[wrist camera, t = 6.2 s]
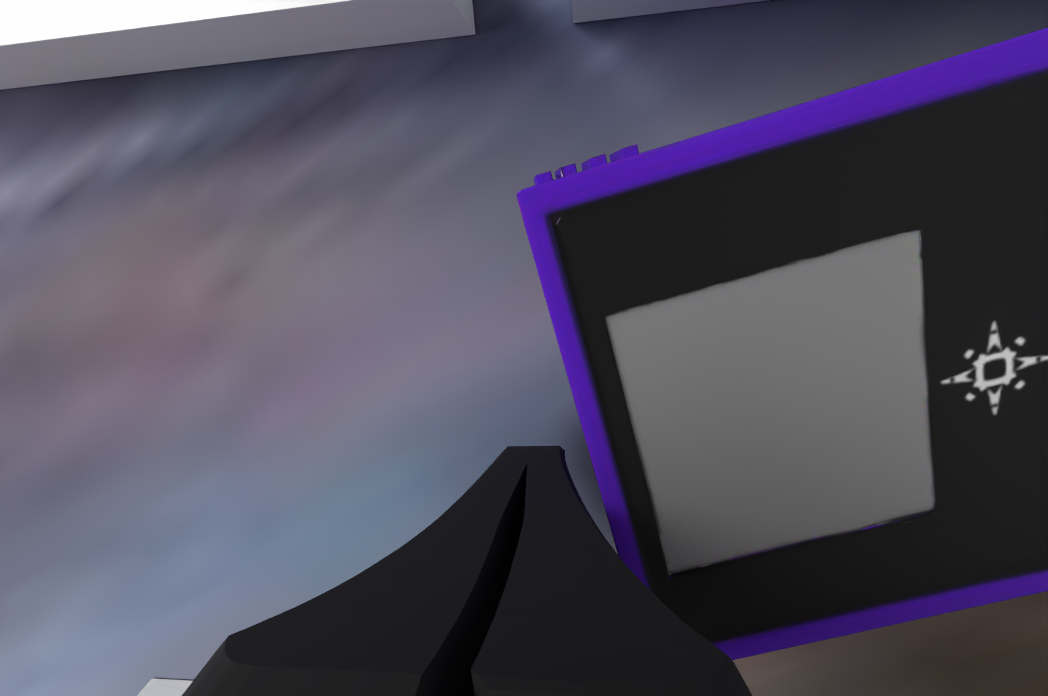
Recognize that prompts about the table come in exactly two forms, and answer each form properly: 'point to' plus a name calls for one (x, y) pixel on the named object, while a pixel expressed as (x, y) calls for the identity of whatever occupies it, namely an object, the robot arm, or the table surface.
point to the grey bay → (201, 48)
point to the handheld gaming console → (819, 351)
